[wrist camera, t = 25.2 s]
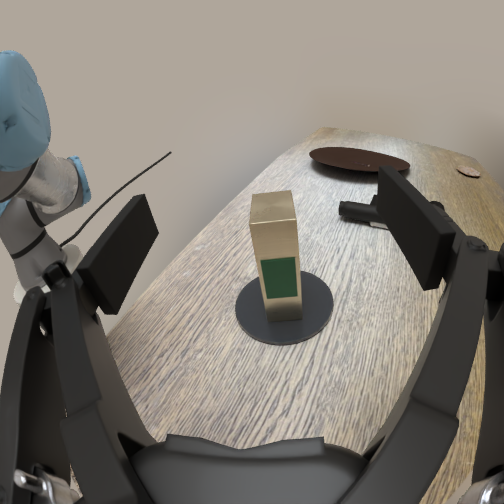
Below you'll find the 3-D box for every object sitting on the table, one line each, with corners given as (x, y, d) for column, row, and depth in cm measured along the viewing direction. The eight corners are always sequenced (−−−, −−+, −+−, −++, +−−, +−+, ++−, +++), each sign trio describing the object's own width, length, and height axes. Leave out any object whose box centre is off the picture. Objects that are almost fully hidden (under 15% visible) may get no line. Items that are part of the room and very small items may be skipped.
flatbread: (460, 175, 56) (461, 171, 56) (454, 166, 62) (454, 163, 61) (483, 179, 53) (484, 176, 52) (475, 170, 58) (476, 167, 58)
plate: (422, 164, 64) (423, 152, 62) (383, 195, 52) (384, 179, 50) (345, 145, 83) (344, 135, 81) (288, 168, 71) (287, 155, 69)
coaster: (240, 276, 39) (239, 273, 38) (325, 268, 37) (325, 265, 37) (231, 347, 29) (230, 345, 29) (340, 339, 28) (341, 336, 27)
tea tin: (267, 286, 36) (252, 194, 28) (298, 283, 35) (291, 189, 27) (267, 323, 31) (248, 225, 23) (302, 320, 30) (296, 219, 22)
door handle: (356, 177, 55) (336, 206, 44) (444, 193, 45) (451, 229, 34) (355, 191, 56) (335, 223, 46) (441, 208, 46) (446, 247, 36)
